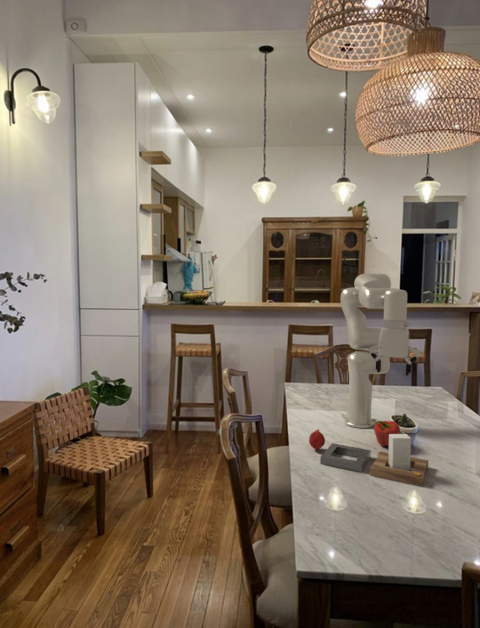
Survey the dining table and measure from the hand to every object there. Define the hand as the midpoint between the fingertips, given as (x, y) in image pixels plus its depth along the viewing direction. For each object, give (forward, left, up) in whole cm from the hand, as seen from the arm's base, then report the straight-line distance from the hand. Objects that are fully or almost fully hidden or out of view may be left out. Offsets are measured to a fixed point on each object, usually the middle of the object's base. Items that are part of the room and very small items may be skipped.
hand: (392, 373), depth 159 cm
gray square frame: (+11, -13, -30) cm, 35 cm away
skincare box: (+11, +5, -31) cm, 33 cm away
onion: (+7, -25, -31) cm, 40 cm away
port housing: (+11, +5, -30) cm, 33 cm away
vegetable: (-10, -3, -31) cm, 32 cm away
